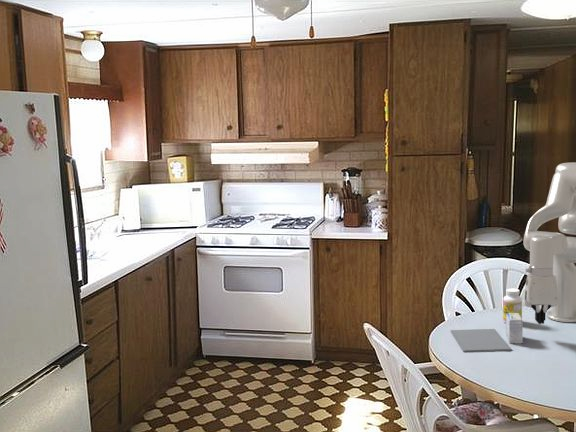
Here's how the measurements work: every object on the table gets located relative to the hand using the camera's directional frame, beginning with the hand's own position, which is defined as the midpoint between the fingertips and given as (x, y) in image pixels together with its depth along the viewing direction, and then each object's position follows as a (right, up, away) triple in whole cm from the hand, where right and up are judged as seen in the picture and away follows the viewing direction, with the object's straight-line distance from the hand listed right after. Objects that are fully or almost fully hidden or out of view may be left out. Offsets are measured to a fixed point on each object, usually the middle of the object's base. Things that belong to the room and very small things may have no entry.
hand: (540, 322), depth 214 cm
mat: (-20, -7, +2) cm, 22 cm away
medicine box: (-8, -7, +2) cm, 11 cm away
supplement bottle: (-3, -4, +19) cm, 20 cm away
